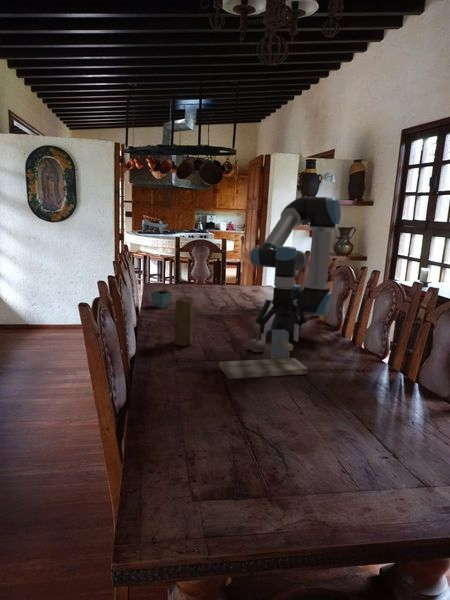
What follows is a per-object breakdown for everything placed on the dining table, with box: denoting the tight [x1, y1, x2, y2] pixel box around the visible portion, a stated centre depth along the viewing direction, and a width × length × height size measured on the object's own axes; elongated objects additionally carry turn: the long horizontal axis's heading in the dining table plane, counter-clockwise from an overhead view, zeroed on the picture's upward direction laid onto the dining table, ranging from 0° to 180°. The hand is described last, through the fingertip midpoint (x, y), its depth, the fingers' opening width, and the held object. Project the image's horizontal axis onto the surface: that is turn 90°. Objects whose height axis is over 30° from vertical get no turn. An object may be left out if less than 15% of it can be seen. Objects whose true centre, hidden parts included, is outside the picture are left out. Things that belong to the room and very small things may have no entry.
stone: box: [173, 296, 194, 347], centre depth 194 cm, size 11×8×20 cm
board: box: [219, 357, 309, 379], centre depth 167 cm, size 30×12×2 cm, turn 105°
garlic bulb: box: [249, 331, 266, 353], centre depth 190 cm, size 8×7×8 cm
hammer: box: [270, 329, 294, 362], centre depth 174 cm, size 5×13×12 cm, turn 15°
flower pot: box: [150, 289, 173, 309], centre depth 263 cm, size 9×9×9 cm
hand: (279, 341), depth 177 cm, fingers open, 13 cm apart
